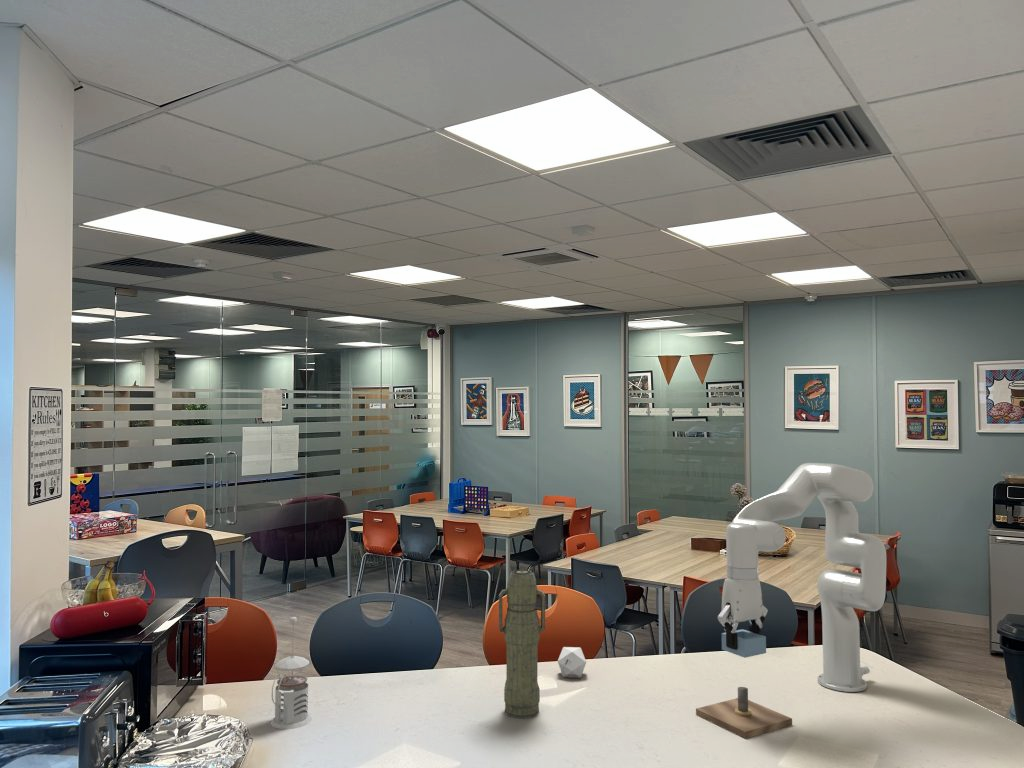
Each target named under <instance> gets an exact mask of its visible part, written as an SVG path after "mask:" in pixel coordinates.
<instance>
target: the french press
mask: <svg viewBox="0 0 1024 768" xmlns="http://www.w3.org/2000/svg"><path fill="white" fill-rule="evenodd" d="M288 621H289V623H292V634H294V625H295V624H294V623H297V622H298V619H297V617H296V616H291V617H290V618H289V620H288ZM291 640H292V644H291V646H292V647H291V648H292V649H291V650H292V651H291V655H289V656H287V657H284V658H282V659H280V660H279V661H277V662H276V663H275V665H274V667H275V668H276V669H277V670H280V671H291V675H288V676H286V675H285V674H283V676H282V677H281V675H280V673H279V674H277V676H276V677H275V678H274V681H273V683H272V684H273V685H272V686H271V700H272V703H273V704H274V717H273V718H272V719H271V720H270V726H272V727H273V728H276V729H279V730H280V729H281V730H282V729H283V730H289V729H298V728H301V727H304V726H306V725H308V724H310V723H311V722H312V720H313V719H312V718H313V717H312V716H311V715H310V714H309V712H308V710H309V707H308V705H309V701H308V700H309V696H308V695H309V683H308V682H307V681H308V678H307V677H306V676H304V675H300V674H299V675H295V674H294V675H293V671H296V670H300V669H304V668H306V667H307V666H308V665H310V661H309V659H307V658H305V657H304V656H298V655H294V636H292V639H291ZM277 678H278V679H277ZM275 682H276V684H277V685H276V686H275ZM274 686H275V690H274ZM274 691H275V693H274ZM281 691H282V692H281ZM274 694H275V695H274ZM274 696H275V699H274ZM274 700H275V701H274ZM282 702H283V703H282Z"/></svg>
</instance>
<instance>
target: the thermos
mask: <svg viewBox="0 0 1024 768" xmlns="http://www.w3.org/2000/svg"><path fill="white" fill-rule="evenodd" d="M538 594H539V595H540V618H539V615H538V608H537V603H538ZM504 595H506V596H507V597H506V603H507V608H506V613H505V614H506V615H505V618H504V625H503V597H504ZM498 629H499V630H498V631H499V633H500V632H501V633H503V634H504V641H505V643H506V672H505V673H506V675H505V676H506V679H505V683H504V689H503V692H504V693H503V694H504V696H503V697H504V699H503V702H504V707H505V708H504V712H505V714H506V716H509V717H512V718H514V717H515V719H530V718H533V717H536V716H537V715H539V713H540V706H539V705H540V701H541V700H540V698H541V695H540V693H541V692H540V690H541V689H540V686H539V683H538V645H539V642H540V634H541V633H542V632H543V631H544V630H545V629H546V595H545V593H544V592H543V590H542V589H538V585H537V579H536V576H535V573H534V571H533V572H532V570H529V569H514V570H513V571H511V572H510V573H509V576H508V579H507V583H506V588H504V589H501V591H500V593H499V594H498ZM529 717H530V718H529Z"/></svg>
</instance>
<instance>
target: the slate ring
mask: <svg viewBox="0 0 1024 768" xmlns="http://www.w3.org/2000/svg"><path fill="white" fill-rule="evenodd" d="M735 633H737V634H738V638H737V646H738V649H737V650H734V649H731V648H728V647H727V646H726V631H725V632H722V633H721V651H726V652H728V653H731V654H733V655H736V656H738V657H742V658H746V659H747V658H751V657H755V656H758V655H759V656H760V655H764V654H766V653H767V636H765V635H762V634H761V635H759V634H756V633H753V632H749V630H747V629H743V628H742V629H736V632H735Z"/></svg>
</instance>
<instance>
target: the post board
mask: <svg viewBox="0 0 1024 768" xmlns="http://www.w3.org/2000/svg"><path fill="white" fill-rule="evenodd" d="M695 715H696V716H698V717H699V718H701V719H704V720H706V721H708V722H711V723H712V724H714V725H716V726H718V727H721V728H722V729H725V730H726V731H729V732H731V733H733V734H735V735H737V736H739V737H740V738H743V739H749V738H751V737H756V736H759V735H761V734H765V733H770V732H772V731H775V730H779V729H780V730H781V729H782V728H786V727H790V726H793V718H792V717H790V716H788V715H785V714H783V713H780V712H777V711H776V710H773V709H771V708H768V707H767V706H764V705H761V704H759V703H756V702H755V701H751V700H750V699H749V688H748V687H746V686H738V687H737V697H736V698H733V699H729V700H724V701H719V702H716V703H713V704H708V705H705V706H702V707H696V709H695Z"/></svg>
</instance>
